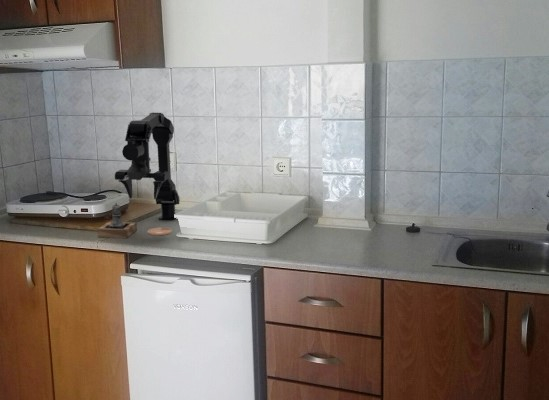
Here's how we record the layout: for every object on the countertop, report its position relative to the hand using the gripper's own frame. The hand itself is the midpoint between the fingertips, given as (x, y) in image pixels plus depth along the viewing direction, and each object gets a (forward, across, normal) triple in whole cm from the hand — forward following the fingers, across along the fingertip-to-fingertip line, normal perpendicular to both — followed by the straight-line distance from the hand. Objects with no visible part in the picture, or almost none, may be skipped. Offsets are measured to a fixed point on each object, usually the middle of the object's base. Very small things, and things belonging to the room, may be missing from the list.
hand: (143, 198), depth 224 cm
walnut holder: (+15, -12, +3) cm, 19 cm away
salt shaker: (+15, -12, +3) cm, 19 cm away
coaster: (+15, +3, +7) cm, 17 cm away
